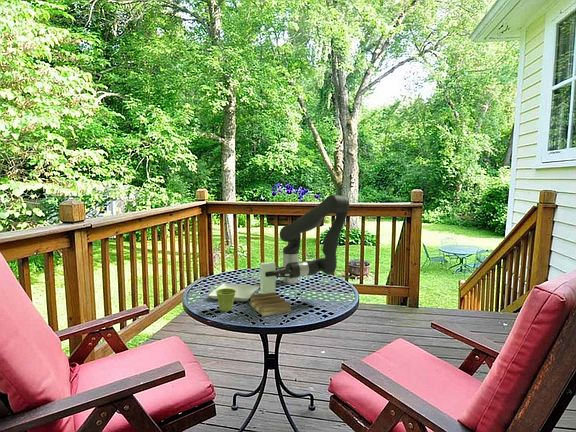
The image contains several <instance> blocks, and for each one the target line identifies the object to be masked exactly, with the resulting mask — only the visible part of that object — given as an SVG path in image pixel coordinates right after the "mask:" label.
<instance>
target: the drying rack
mask: <svg viewBox="0 0 576 432" xmlns="http://www.w3.org/2000/svg"><path fill="white" fill-rule="evenodd" d="M281 296H282V295H280V294H277V291H275V292H273V293H266V294H262V293H257V294H253V295H251V297H250V301H249V305H250V306H251V307H252V308H253V309H254V310H256V312H258V313H259V314H260V315H261V316H262V317H267V316H273V315H279V314H284V313H290V312H292V308H291V301H286V298H285V297H282V298H281Z"/></svg>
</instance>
